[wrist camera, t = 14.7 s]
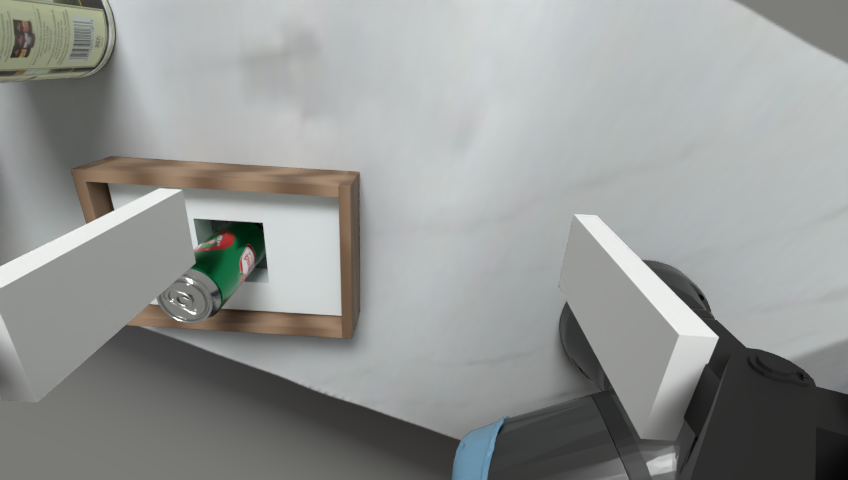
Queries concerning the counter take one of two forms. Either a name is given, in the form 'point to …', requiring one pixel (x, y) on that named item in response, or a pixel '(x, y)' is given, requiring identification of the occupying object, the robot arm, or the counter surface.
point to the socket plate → (270, 244)
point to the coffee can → (54, 38)
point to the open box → (249, 179)
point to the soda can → (214, 272)
